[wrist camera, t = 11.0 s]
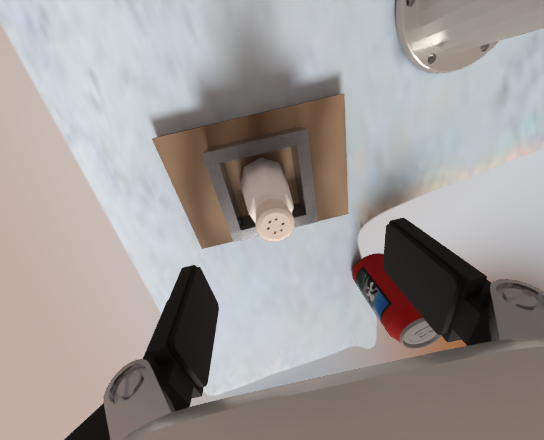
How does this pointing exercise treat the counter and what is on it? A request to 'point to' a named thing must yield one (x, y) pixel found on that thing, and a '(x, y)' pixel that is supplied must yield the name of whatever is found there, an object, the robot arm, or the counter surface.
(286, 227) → the salt shaker
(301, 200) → the metal socket
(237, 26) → the counter surface
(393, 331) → the beverage can
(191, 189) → the walnut board
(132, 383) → the robot arm
